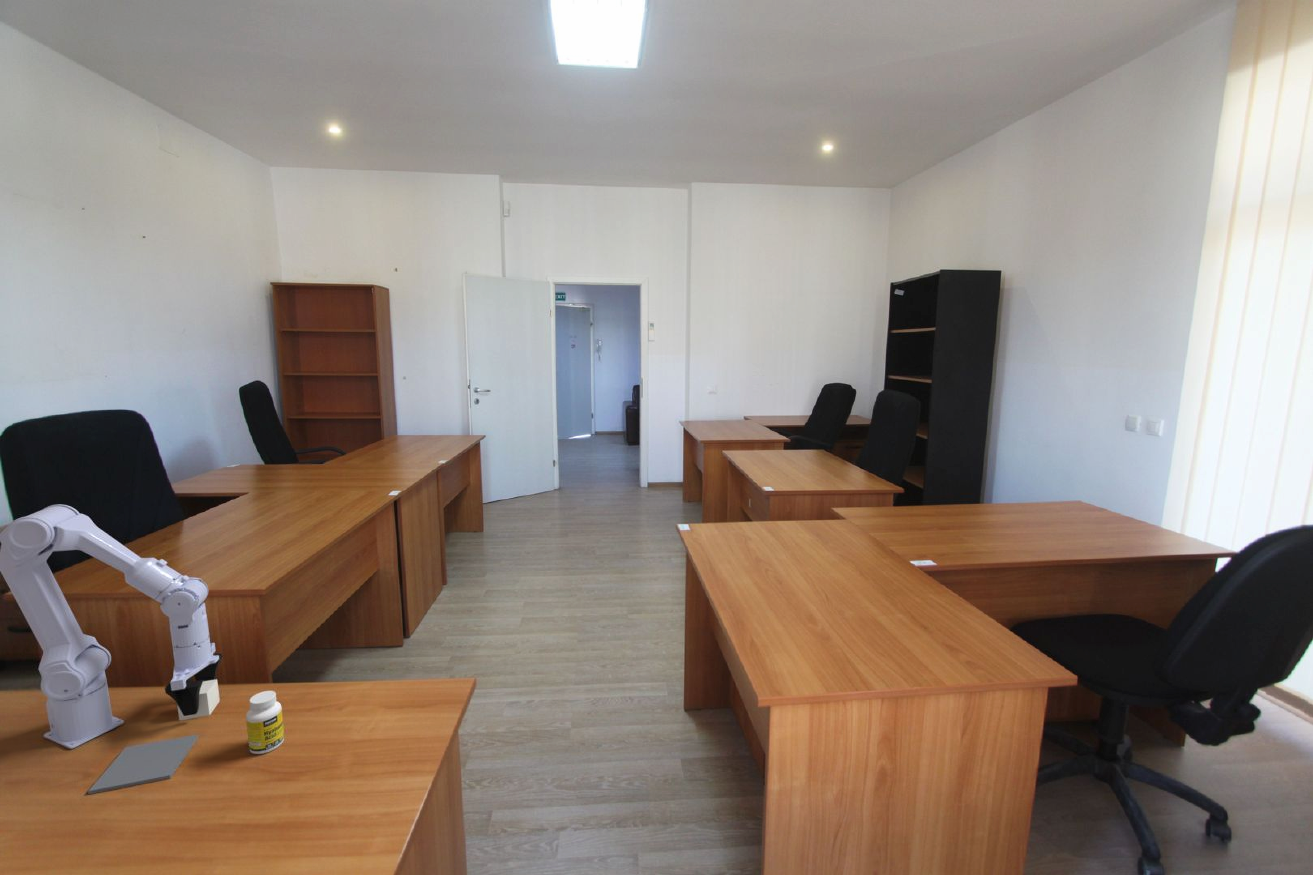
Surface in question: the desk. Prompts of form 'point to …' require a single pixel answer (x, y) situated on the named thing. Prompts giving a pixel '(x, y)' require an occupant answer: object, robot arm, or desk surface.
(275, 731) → the supplement bottle
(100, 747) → the desk surface
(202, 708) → the cube
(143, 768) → the mat
